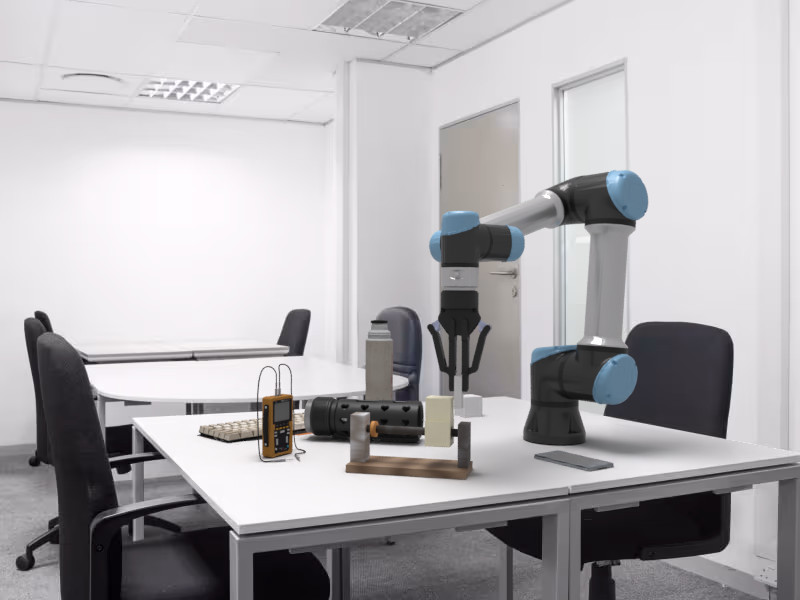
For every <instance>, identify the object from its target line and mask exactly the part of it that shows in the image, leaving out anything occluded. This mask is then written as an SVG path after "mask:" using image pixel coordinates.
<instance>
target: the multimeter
mask: <svg viewBox="0 0 800 600" xmlns="http://www.w3.org/2000/svg"><path fill="white" fill-rule="evenodd" d="M281 366H286V367H287V368H288V370H289V373H290V393H289V394H288V393H287V394H286V393H282V388H281V370H280V367H281ZM277 367H278V373H277V371H276V369H275V368H274V367H273V366H270V365H265V366H264V367H263V368H262V369H261V371H260V373H259V376H258V381H257V392H256V418H257V430H258V440H257V447H258V455H259V460H260V461H261V462H263V463H273V462H274V463H278V462H286V461H293V460H294V458H277V459H275V458H276V457H278V456H282V455H286V454H287V455H288V454H292V452H293V447H294V446H295V449H297V450H298V451H301V452H296V453H294V456H295V457H296V459H297V460H299V461H301V457H300V456H299V455H301V454H305V453H306V450H305V449H302V448H298V446H297V444H296V438H295V436H296V435H295V433H294V414H295V407H294V395H293V375H292V370H291V368H290V366H289V365H288V364H286V363H279V365H278V366H277ZM265 368H271V369H272V370H273V371H274V373H275V386H274V387H275V389H274V394H273V395H265V396H263V397H262V398H261V399H262V402H261V403H262V407H261V408H262V409H261V410H262V412H261V414H262V415H261V418H262V440H261V443H262V444H261V445H262V448H260V440H259V421H258V418H259V391H260V380H261V376H262V373H263V371H264V370H265ZM293 433H294V436H293ZM293 444H294V446H293ZM260 449H262V452H261V450H260ZM261 455H262V457H265V458H272V460H263V459H262V457H261ZM273 458H274V459H273Z"/></svg>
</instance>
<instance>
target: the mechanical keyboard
mask: <svg viewBox="0 0 800 600" xmlns="http://www.w3.org/2000/svg"><path fill="white" fill-rule="evenodd" d="M258 421H259V441H262V417H258ZM198 433H199V434H197V436H199V437H202V438H205V439H208V440H213V441H217V442H218V441H219V442H222V443H223V442H224V443H230V444H233V443H239V442H240V443H241V442H253V441H258V430H257V419H256V418H251V419H249V420H248V419H244V420H242V419H241V420H235V421H229V422H228V421H227V422H224V423H223V422H221V423H216V424H215V423H211V424H208V425H206V424H205V425H199V429H198ZM294 433H295V436H305V435H306V436H307V435H312V434H313V433H308V432H307V431H306V429H305V425H304V412H301V413H300V412H297V413H294ZM294 433H293V437H294ZM313 435H314V434H313ZM236 445H239V444H236Z"/></svg>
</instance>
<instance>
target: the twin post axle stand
mask: <svg viewBox="0 0 800 600" xmlns="http://www.w3.org/2000/svg"><path fill="white" fill-rule="evenodd" d="M471 423H472V421H460V422H459V423H458V424H457V428H454V429H451V437H454V438H457V459H443V458H441V459H440V458H425V457H424V458H421V457H410V456H409V457H407V456H406V457H405V456H390V455H389V456H385V455H371V452H370V451H371V450H370V449H371V447H370V446H371V444H370V443H371V442H370V441H371V440H370V435H371V437H377V436H378V433H385V434H405V435H422V436H425V426H423V427H406V426H384V425H379V424H378V421H372V422H371V425H370V413H368V412H355V413H353V414H351V415H350V437H349V441H350V443H349V447H350V448H349V453H350V454H349V457H350V458H349V462H347V463H346V464H345V473H354V474H367V475H370V474H371V475H385V476H399V477H402V476H403V477H418V478H432V479H433V478H434V479H450V480H451V479H453V480H466V479H467V477H468V476H469V474H470V473H471V472H472V470H473V468H474V467H473V466H474V465H473V460H472V458H471V457H472V456H471V451H472V449H471V448H472V447H471V446H472V445H471V442H472V441H471V439H472V434H471V433H472V430H471V429H472V426H471V425H472V424H471Z"/></svg>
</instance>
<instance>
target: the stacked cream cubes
mask: <svg viewBox="0 0 800 600" xmlns="http://www.w3.org/2000/svg"><path fill="white" fill-rule="evenodd" d="M424 401H425V406H424V407H425V410H424V411H425V413H424V416H425V417H424V420H425V421H424V427H425V435H424V447H432V448H451V447H452V446H453V444H454V442H455V437H451V429H455V418H454V416H455V415H454V395H453V396H452V395H451V396H449V395H428V396H426V397H425V400H424Z"/></svg>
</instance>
